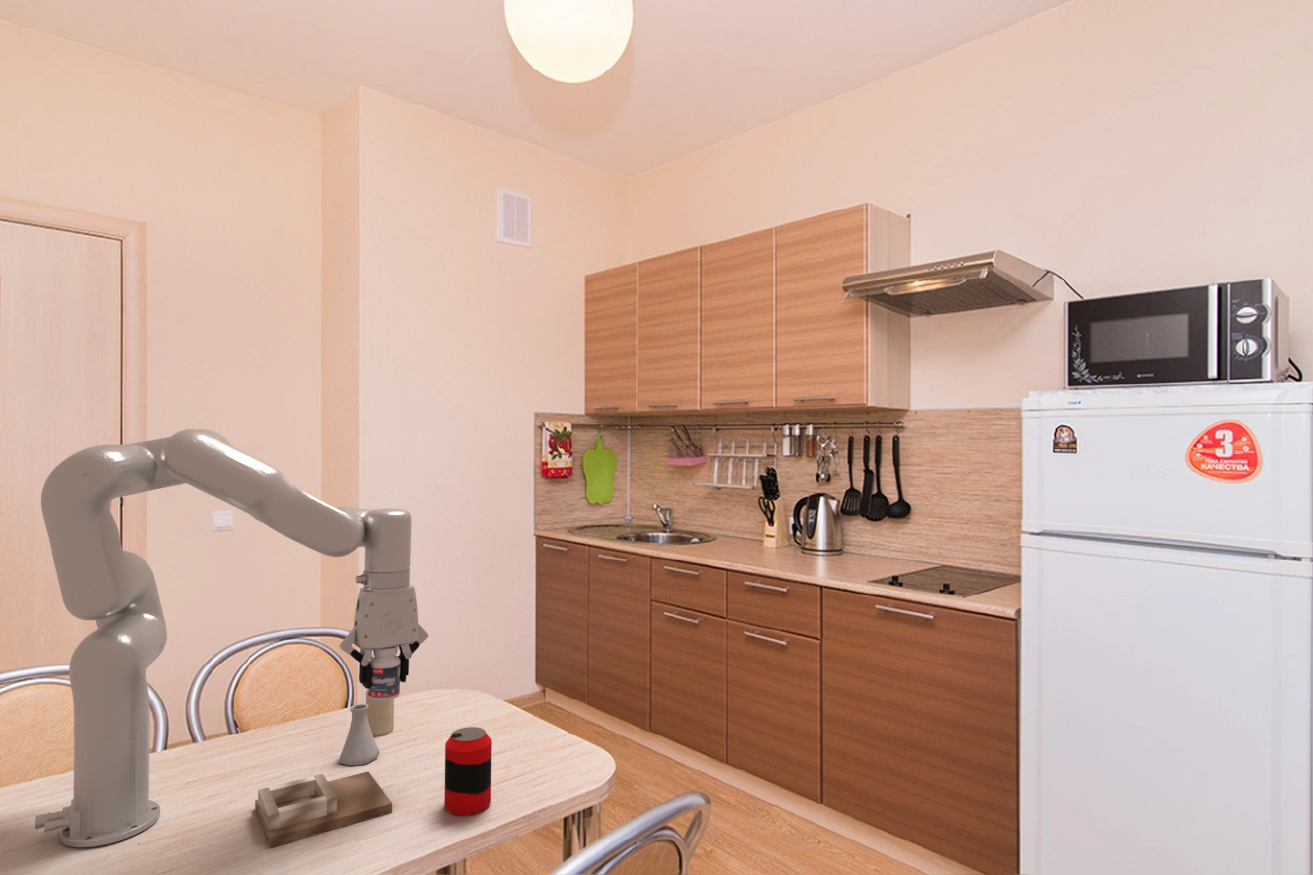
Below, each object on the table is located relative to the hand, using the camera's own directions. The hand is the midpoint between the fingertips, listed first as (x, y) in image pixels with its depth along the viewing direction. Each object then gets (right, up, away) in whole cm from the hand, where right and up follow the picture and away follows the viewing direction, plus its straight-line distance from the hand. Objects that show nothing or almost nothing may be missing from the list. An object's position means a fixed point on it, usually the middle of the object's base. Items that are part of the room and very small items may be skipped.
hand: (384, 682), depth 127 cm
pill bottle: (0, -3, 0) cm, 3 cm away
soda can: (+16, -19, -5) cm, 25 cm away
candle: (-10, -19, +25) cm, 33 cm away
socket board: (-7, -19, -7) cm, 21 cm away
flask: (-9, -19, +12) cm, 24 cm away
